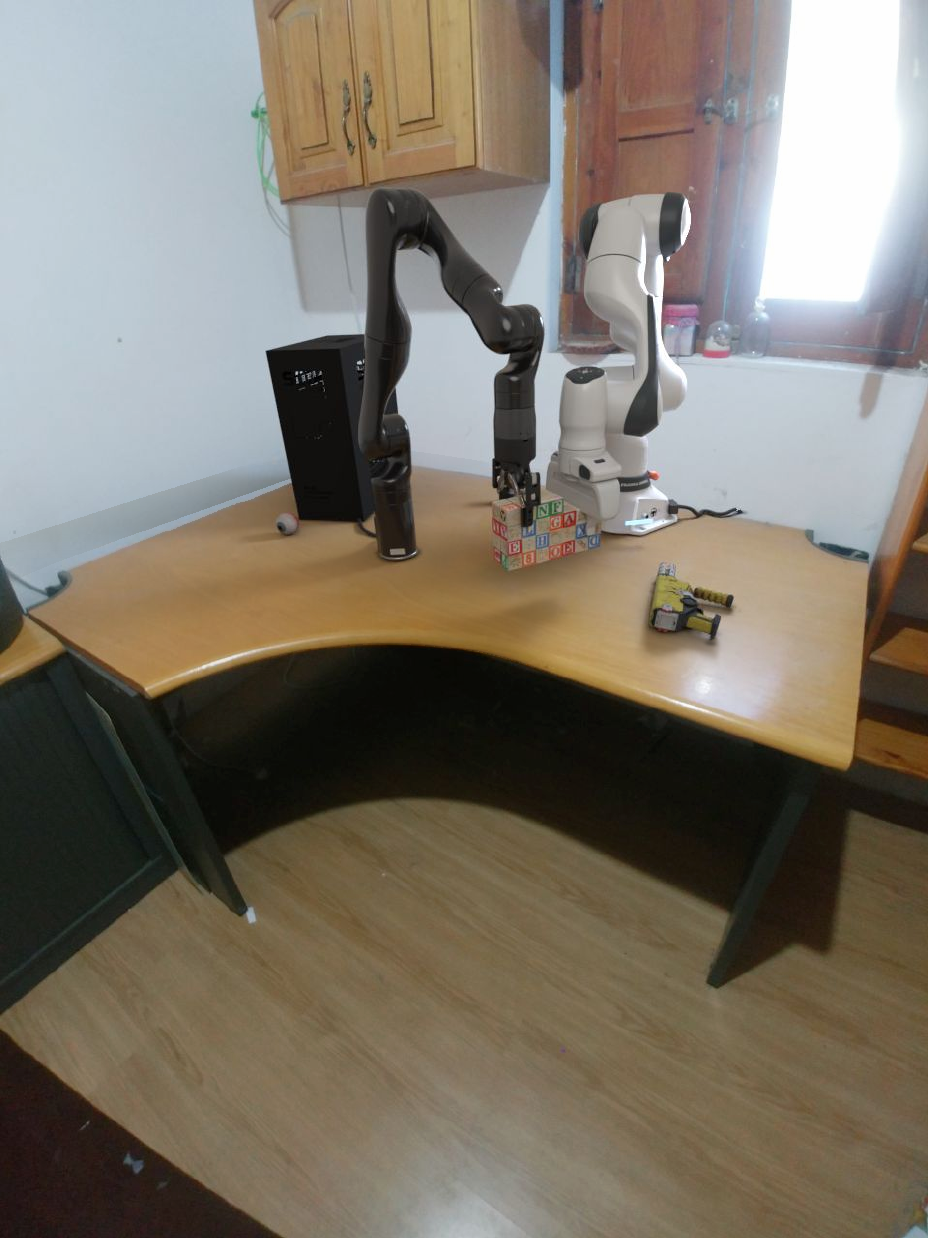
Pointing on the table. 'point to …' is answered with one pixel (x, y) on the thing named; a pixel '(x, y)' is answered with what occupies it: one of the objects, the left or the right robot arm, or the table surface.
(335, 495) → the black computer tower
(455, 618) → the table surface
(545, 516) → the stack of blocks
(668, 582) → the toy gun
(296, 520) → the eyeball
